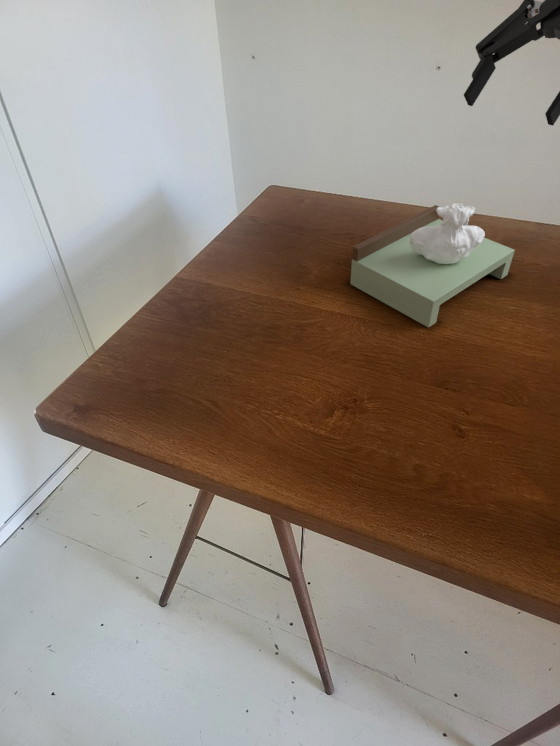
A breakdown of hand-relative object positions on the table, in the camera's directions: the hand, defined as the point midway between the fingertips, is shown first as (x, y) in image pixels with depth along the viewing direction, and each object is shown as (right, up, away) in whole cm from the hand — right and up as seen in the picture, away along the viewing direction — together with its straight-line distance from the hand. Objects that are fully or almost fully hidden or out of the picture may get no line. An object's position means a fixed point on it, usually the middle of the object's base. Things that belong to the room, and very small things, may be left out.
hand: (506, 109), depth 78 cm
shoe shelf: (-8, -23, +13) cm, 28 cm away
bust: (-7, -21, +9) cm, 24 cm away
